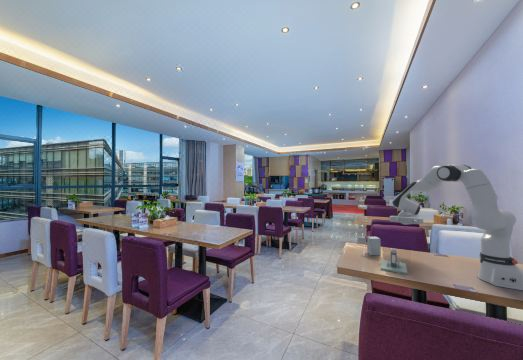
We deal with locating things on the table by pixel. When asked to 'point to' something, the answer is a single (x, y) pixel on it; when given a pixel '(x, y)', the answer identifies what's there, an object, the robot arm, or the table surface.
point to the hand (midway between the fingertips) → (406, 221)
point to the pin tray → (399, 269)
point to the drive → (393, 258)
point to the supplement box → (374, 245)
